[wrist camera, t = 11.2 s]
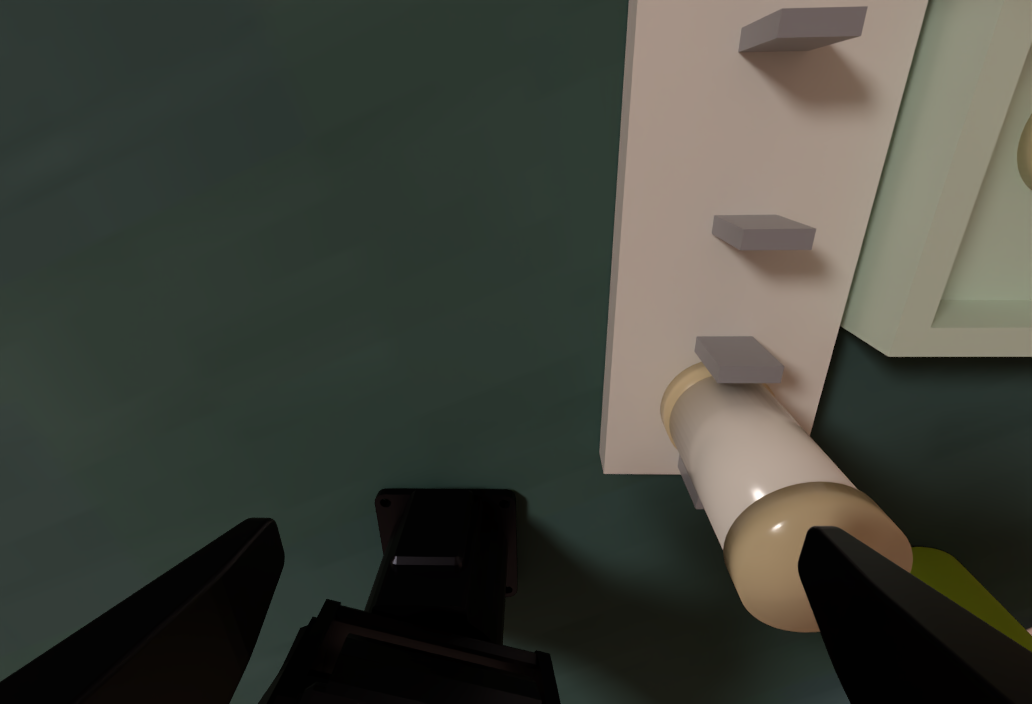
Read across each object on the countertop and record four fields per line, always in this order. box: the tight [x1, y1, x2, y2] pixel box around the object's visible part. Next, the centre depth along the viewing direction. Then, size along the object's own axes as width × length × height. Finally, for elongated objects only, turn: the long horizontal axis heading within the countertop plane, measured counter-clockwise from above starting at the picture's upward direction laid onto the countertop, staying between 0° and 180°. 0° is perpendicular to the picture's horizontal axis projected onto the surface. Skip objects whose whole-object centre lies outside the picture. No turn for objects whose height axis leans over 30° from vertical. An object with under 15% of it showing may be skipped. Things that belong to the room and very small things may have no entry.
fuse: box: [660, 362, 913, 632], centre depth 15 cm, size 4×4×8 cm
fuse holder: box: [599, 0, 928, 509], centre depth 15 cm, size 26×8×4 cm, turn 1°
